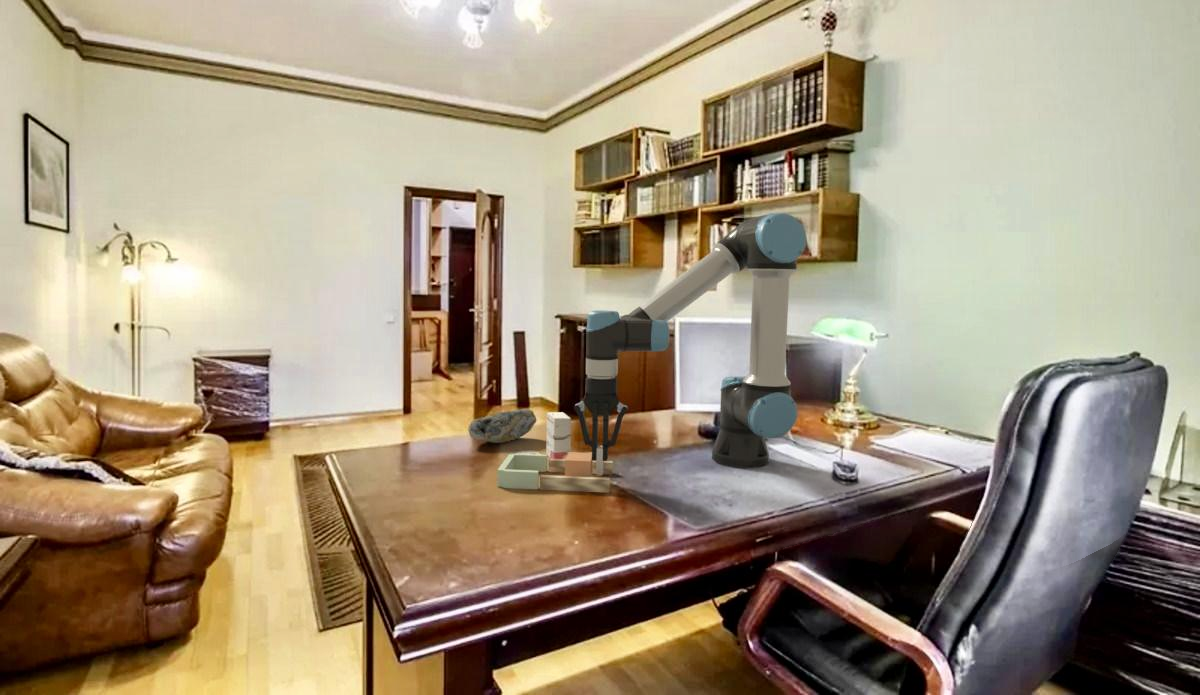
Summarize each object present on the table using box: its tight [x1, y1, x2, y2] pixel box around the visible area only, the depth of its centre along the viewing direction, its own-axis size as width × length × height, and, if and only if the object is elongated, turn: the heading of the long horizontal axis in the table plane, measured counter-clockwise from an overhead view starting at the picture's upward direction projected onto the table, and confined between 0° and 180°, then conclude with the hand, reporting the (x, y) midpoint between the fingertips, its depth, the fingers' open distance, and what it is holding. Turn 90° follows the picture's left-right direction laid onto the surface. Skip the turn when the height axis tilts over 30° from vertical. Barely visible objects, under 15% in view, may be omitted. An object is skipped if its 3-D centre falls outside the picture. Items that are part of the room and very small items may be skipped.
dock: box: [496, 452, 548, 490], centre depth 157 cm, size 10×15×4 cm, turn 176°
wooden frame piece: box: [539, 450, 614, 494], centre depth 160 cm, size 16×22×3 cm
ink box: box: [545, 411, 572, 459], centre depth 175 cm, size 9×5×12 cm, turn 18°
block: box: [564, 451, 594, 477], centre depth 156 cm, size 6×7×6 cm
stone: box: [467, 408, 537, 444], centre depth 189 cm, size 11×21×10 cm, turn 119°
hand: (599, 473), depth 155 cm, fingers closed
